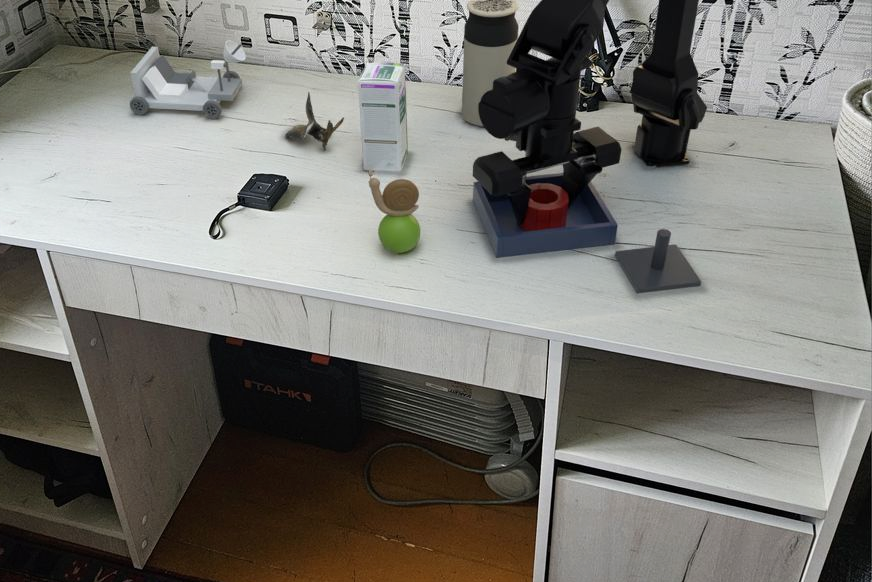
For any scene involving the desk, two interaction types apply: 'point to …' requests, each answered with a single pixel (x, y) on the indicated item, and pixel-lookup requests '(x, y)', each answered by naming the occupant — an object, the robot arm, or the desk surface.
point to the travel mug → (486, 50)
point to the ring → (546, 208)
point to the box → (582, 230)
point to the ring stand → (657, 266)
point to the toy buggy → (184, 84)
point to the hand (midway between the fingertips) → (541, 216)
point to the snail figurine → (397, 213)
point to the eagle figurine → (313, 127)
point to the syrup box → (383, 116)
